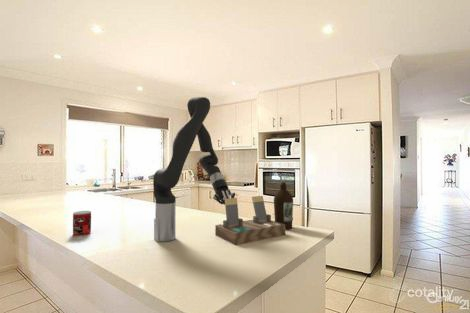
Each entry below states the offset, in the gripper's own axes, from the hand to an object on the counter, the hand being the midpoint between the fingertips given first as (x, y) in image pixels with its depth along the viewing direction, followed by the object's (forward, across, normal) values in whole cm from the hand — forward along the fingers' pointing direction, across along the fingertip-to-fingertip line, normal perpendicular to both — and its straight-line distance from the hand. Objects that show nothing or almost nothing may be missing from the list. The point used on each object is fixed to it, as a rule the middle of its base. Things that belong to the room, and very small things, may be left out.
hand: (230, 209), depth 130 cm
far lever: (+7, +18, +3) cm, 19 cm away
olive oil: (+12, +33, +7) cm, 35 cm away
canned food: (-22, -62, +41) cm, 77 cm away
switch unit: (+12, +9, +5) cm, 16 cm away
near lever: (+7, 0, +3) cm, 7 cm away
